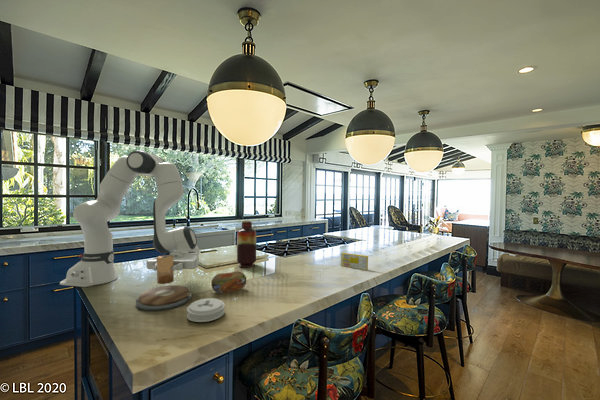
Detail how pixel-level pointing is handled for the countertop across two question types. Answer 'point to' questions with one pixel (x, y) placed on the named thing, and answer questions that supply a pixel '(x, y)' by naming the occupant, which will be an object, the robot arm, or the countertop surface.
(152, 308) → the turntable base
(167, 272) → the canister
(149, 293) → the turntable
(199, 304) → the lid
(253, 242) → the brown bottle
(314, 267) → the countertop surface
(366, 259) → the candy box
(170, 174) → the robot arm
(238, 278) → the tin
